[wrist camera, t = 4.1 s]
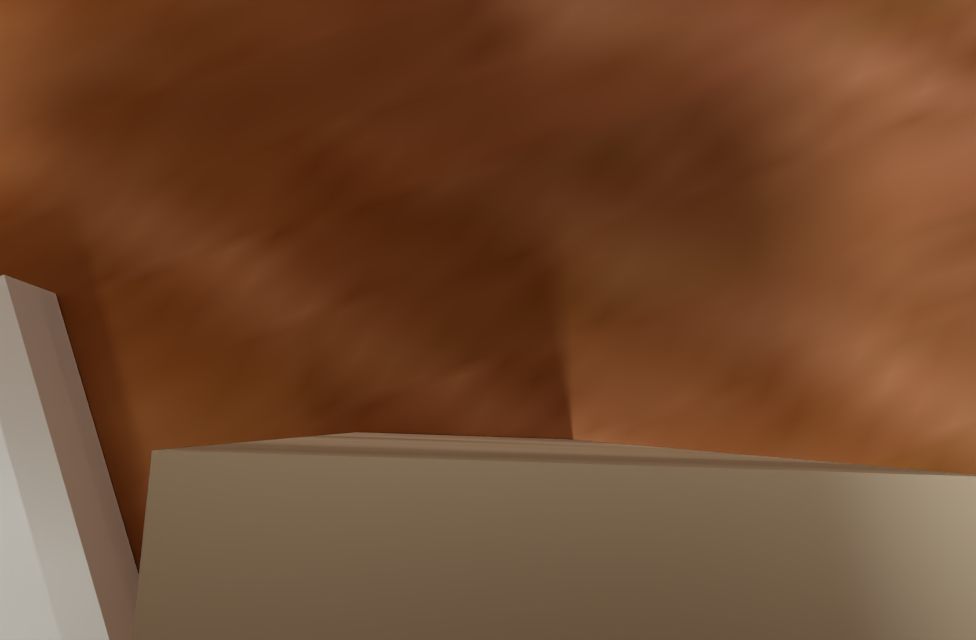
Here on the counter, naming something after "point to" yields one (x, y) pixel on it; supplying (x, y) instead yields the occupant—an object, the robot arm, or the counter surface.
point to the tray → (54, 488)
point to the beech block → (547, 543)
